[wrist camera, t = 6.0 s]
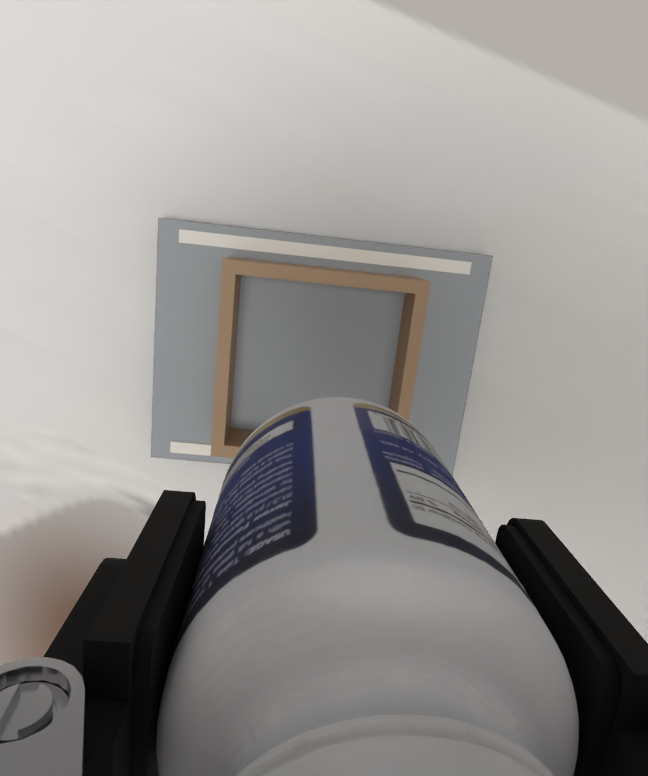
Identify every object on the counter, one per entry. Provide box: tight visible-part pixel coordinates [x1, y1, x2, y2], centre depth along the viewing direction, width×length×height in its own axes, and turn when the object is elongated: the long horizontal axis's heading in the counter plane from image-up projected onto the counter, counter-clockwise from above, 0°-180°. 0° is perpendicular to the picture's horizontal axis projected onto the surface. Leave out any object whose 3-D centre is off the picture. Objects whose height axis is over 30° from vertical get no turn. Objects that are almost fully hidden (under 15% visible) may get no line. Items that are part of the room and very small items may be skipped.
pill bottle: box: [156, 397, 579, 776], centre depth 9 cm, size 5×5×10 cm
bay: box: [151, 218, 493, 476], centre depth 27 cm, size 16×12×4 cm
